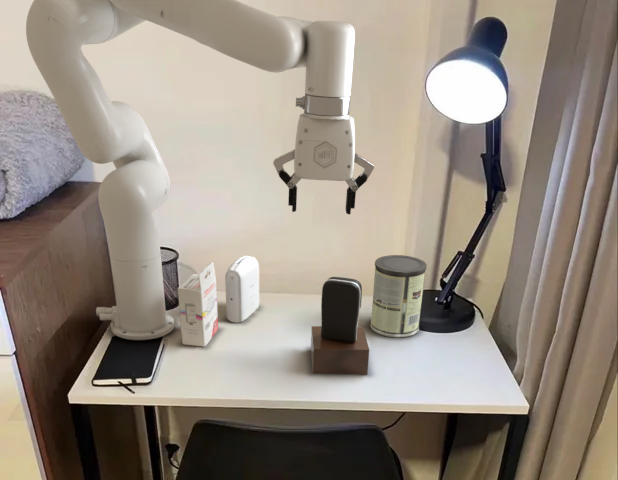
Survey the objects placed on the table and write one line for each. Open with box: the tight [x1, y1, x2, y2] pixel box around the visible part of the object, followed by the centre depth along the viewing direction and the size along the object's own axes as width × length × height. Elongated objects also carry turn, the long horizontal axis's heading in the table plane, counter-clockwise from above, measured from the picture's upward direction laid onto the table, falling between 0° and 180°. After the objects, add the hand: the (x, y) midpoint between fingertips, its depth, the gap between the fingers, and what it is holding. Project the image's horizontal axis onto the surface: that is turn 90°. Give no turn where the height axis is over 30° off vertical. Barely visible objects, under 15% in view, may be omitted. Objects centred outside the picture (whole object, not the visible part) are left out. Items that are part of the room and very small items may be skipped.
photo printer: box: [224, 255, 260, 323], centre depth 140 cm, size 10×4×12 cm, turn 160°
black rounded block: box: [320, 276, 363, 343], centre depth 120 cm, size 7×4×11 cm, turn 74°
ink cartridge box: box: [177, 261, 219, 347], centre depth 129 cm, size 9×5×15 cm, turn 168°
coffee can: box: [370, 254, 428, 338], centre depth 136 cm, size 10×10×14 cm
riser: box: [310, 325, 370, 375], centre depth 124 cm, size 10×10×5 cm
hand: (321, 211), depth 118 cm, fingers open, 9 cm apart
